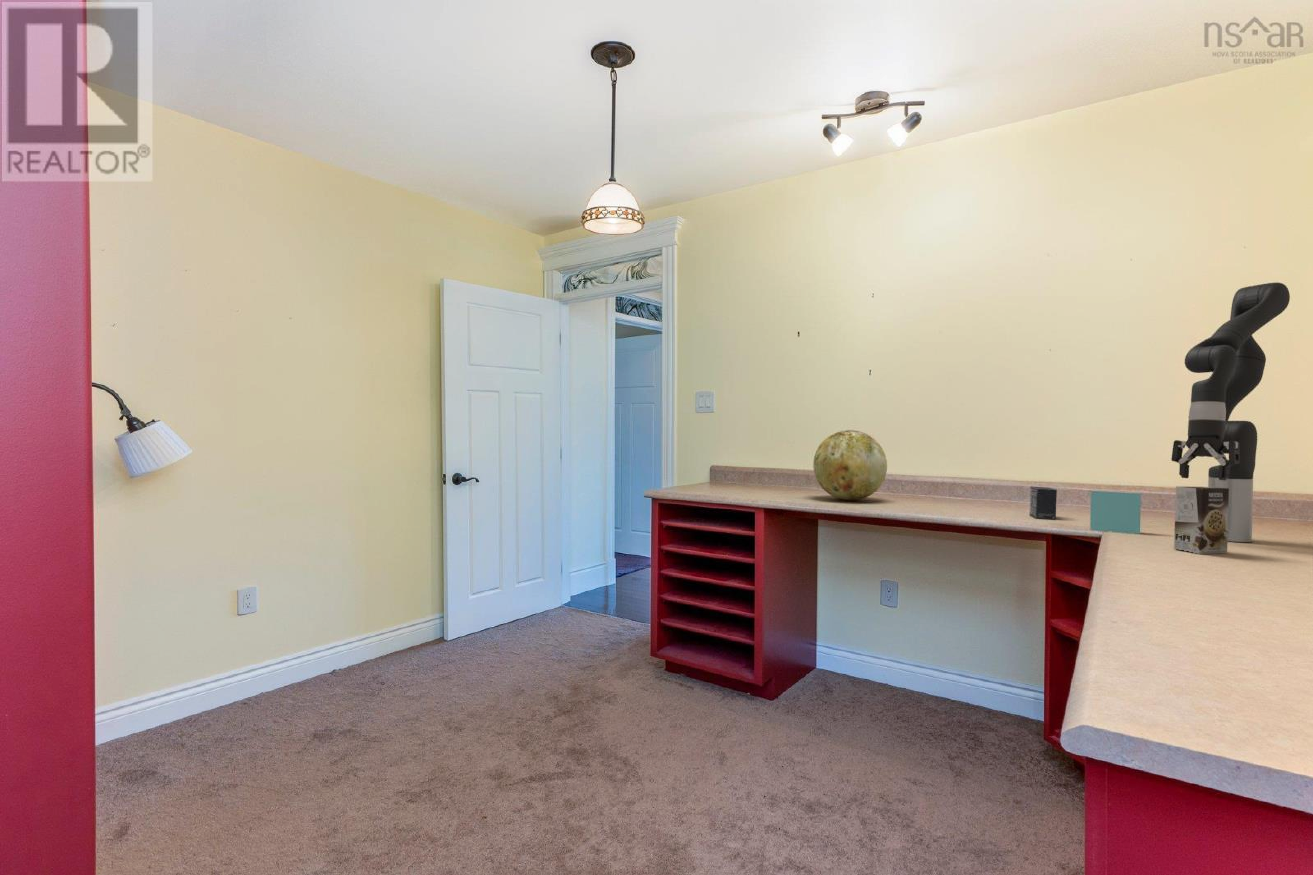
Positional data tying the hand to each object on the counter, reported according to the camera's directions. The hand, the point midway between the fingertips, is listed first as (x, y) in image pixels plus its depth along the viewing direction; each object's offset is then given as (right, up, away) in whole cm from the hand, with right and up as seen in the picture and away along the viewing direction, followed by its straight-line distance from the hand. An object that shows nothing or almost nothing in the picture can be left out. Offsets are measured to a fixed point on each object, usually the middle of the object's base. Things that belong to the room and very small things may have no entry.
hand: (1203, 479), depth 169 cm
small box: (-13, -17, +49) cm, 54 cm away
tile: (-10, -17, +19) cm, 27 cm away
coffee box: (-13, -17, -14) cm, 25 cm away
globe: (-66, -16, +97) cm, 119 cm away
